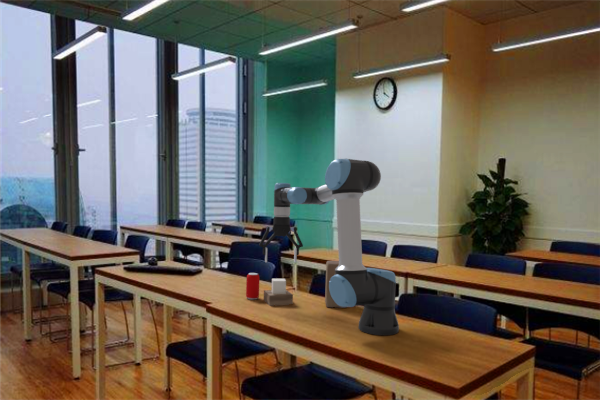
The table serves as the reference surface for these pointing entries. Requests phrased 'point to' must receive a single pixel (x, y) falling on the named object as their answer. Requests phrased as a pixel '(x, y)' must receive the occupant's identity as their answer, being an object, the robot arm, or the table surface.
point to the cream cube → (278, 286)
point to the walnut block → (278, 298)
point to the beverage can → (252, 286)
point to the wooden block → (329, 273)
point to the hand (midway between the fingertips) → (280, 262)
